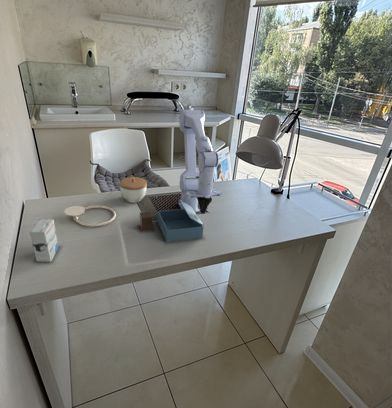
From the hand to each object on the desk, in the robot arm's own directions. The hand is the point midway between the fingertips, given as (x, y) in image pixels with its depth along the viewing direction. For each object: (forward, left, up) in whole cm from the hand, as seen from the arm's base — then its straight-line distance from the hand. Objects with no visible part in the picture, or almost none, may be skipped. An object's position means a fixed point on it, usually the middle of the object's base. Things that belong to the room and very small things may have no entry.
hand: (202, 212), depth 121 cm
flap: (0, -5, +1) cm, 5 cm away
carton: (0, -10, -7) cm, 12 cm away
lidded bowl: (-31, -24, -8) cm, 40 cm away
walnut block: (-4, -23, -7) cm, 24 cm away
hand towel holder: (-17, -44, -8) cm, 47 cm away
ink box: (+6, -59, -8) cm, 59 cm away
